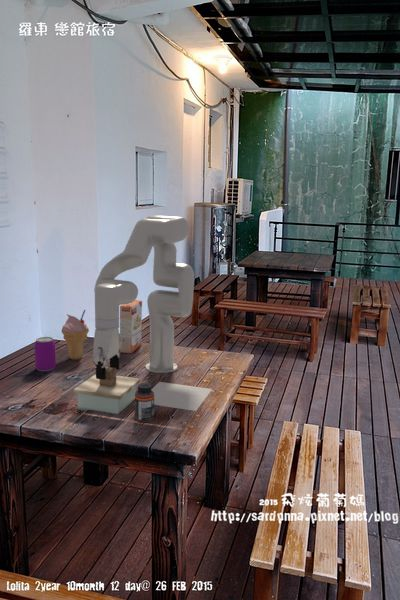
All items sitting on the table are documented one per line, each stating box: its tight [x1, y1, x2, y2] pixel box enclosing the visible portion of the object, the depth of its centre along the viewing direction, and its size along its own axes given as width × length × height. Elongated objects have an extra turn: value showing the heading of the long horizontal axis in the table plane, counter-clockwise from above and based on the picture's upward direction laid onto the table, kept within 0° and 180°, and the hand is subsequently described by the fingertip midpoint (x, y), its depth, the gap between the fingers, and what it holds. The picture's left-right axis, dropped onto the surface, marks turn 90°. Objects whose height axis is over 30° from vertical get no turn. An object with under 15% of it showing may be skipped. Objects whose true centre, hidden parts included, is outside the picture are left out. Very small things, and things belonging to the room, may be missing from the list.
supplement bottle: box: [134, 382, 155, 424], centre depth 161 cm, size 6×6×11 cm
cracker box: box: [119, 299, 143, 354], centre depth 231 cm, size 14×6×21 cm, turn 168°
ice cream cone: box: [61, 309, 90, 360], centre depth 216 cm, size 11×11×20 cm
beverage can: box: [34, 336, 57, 372], centre depth 203 cm, size 8×8×12 cm
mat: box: [151, 381, 213, 412], centre depth 180 cm, size 20×20×1 cm
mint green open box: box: [77, 386, 137, 415], centre depth 172 cm, size 14×14×6 cm
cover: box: [73, 366, 141, 400], centre depth 170 cm, size 16×16×6 cm
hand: (107, 373), depth 170 cm, fingers open, 9 cm apart
